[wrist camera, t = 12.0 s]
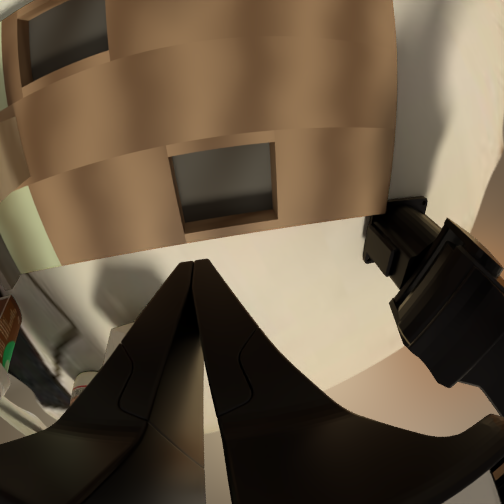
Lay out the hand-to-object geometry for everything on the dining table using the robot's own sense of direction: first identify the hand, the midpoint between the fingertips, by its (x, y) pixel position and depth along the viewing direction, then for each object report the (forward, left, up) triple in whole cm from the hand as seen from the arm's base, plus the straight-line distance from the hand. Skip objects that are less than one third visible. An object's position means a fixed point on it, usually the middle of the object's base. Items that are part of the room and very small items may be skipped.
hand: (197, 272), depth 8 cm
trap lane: (+2, -5, -12) cm, 13 cm away
